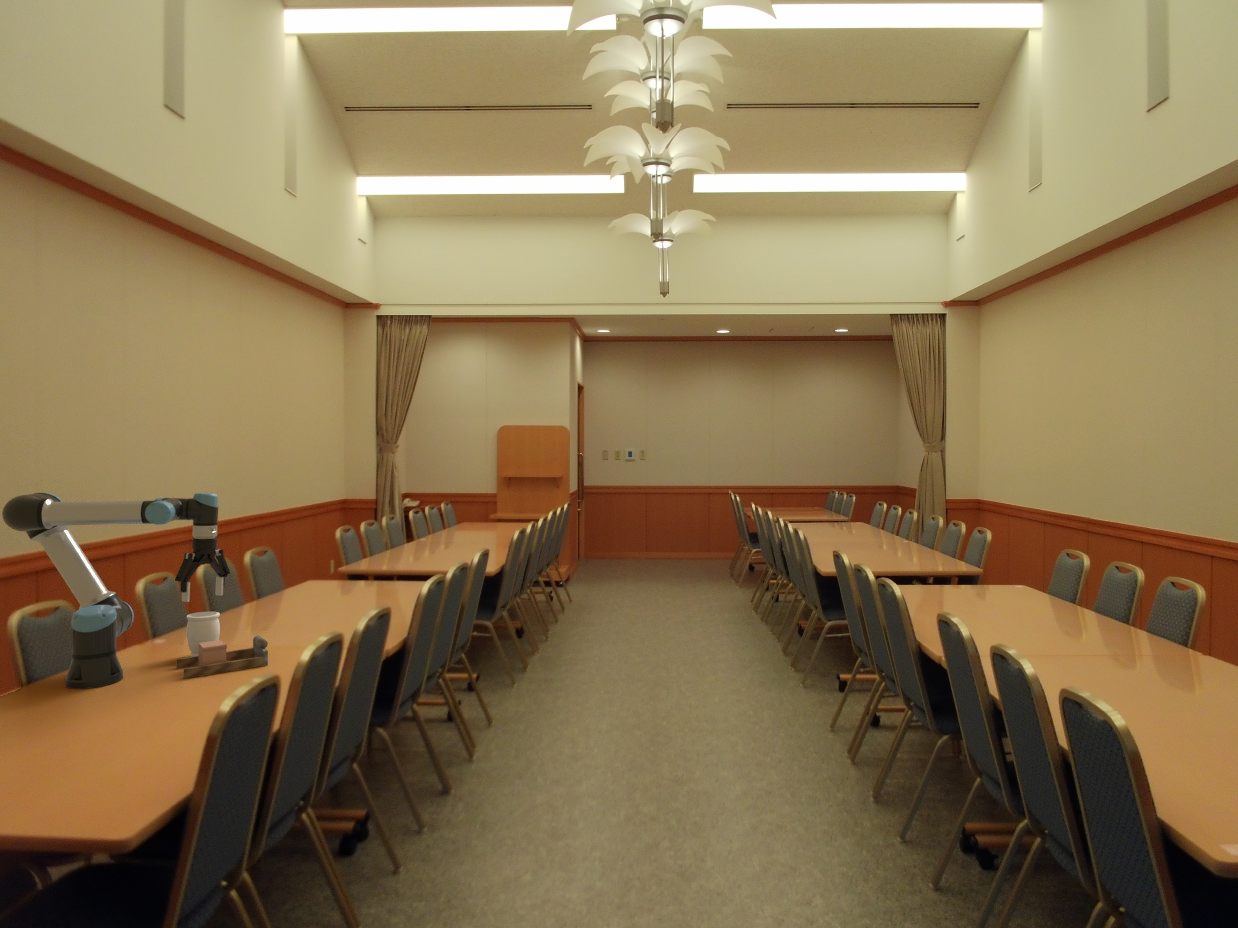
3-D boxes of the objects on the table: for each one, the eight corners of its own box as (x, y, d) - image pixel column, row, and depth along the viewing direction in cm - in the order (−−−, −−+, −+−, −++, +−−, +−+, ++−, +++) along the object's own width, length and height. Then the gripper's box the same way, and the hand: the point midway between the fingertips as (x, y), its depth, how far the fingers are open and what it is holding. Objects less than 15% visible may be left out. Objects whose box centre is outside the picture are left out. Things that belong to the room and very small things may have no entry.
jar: (226, 652, 273) (226, 611, 272) (207, 659, 262) (207, 617, 262) (199, 651, 274) (198, 610, 273) (179, 658, 263) (179, 616, 263)
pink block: (202, 671, 247) (202, 648, 247) (198, 666, 254) (198, 642, 254) (226, 668, 252) (226, 644, 251) (221, 662, 258) (221, 639, 258)
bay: (184, 678, 241) (184, 654, 241) (176, 667, 253) (176, 644, 253) (270, 664, 257) (270, 641, 257) (259, 654, 269) (259, 632, 269)
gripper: (181, 541, 245) (178, 605, 245) (242, 535, 268) (240, 593, 268) (164, 539, 247) (162, 603, 247) (226, 533, 271) (224, 591, 271)
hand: (202, 598), depth 258 cm, fingers open, 13 cm apart
